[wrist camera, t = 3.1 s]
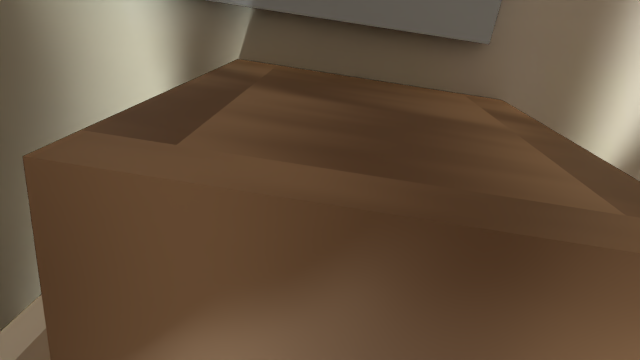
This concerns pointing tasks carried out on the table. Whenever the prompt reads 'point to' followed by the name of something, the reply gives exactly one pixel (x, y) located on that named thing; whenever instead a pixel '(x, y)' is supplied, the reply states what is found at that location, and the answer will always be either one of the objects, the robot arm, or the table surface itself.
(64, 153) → the tan rectangular box
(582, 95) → the table surface
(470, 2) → the slate mat
